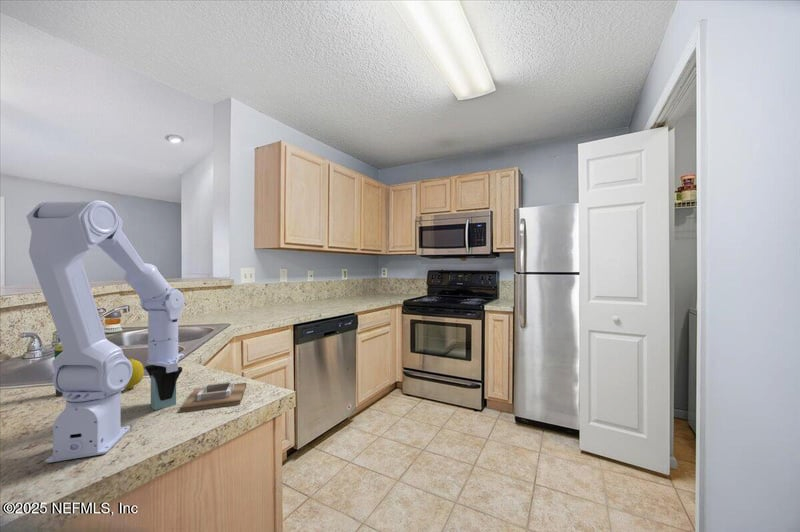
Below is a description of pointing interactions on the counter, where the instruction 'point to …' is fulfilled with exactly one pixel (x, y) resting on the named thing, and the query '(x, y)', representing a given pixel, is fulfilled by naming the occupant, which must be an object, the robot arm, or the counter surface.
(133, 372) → the lemon
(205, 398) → the socket
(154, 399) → the square peg
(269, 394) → the counter surface
